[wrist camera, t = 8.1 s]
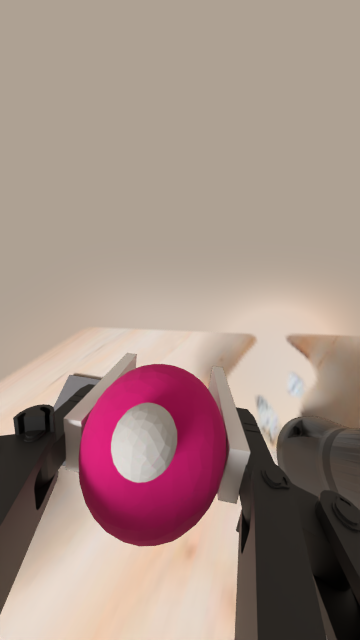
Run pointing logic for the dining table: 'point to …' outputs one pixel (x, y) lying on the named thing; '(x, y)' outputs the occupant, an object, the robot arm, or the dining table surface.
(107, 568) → the dining table surface
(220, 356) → the dining table surface
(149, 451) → the pepper mill
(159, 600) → the dining table surface
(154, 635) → the dining table surface
